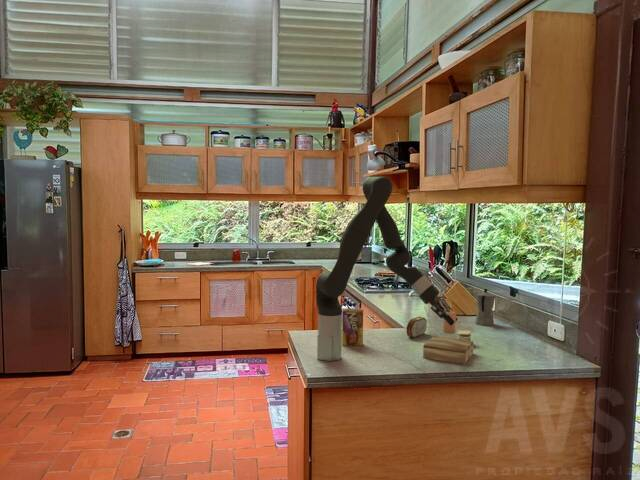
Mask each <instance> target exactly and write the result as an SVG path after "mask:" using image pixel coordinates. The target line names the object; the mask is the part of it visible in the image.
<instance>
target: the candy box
mask: <svg viewBox="0 0 640 480" xmlns="http://www.w3.org/2000/svg"><path fill="white" fill-rule="evenodd" d="M342 346H364V310H363V308H353V307H350V308H345V307H344V308H343V307H342Z"/></svg>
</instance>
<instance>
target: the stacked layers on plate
mask: <svg viewBox="0 0 640 480" xmlns="http://www.w3.org/2000/svg"><path fill="white" fill-rule="evenodd" d="M456 332H457V333H456V335H457V338H456V339H461V340H469V341H472V339H471V337H472V334H471V333H472V331H471V330H457V331H456Z"/></svg>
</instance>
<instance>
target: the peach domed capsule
mask: <svg viewBox="0 0 640 480" xmlns="http://www.w3.org/2000/svg"><path fill="white" fill-rule="evenodd" d="M446 312H447V313H448V315H449V316H450V317H451V318H452V319H453V320H454V321H455V323H454V324H453V325H449V323H448V322H447V321H446V320H445V319H443V327H442V328H443V329H442V330H443V332H442V333H444V334H447V335H448V334H449V335H450V334H451V335H453V334H456V324H457V323H456V322H457V321H456V318H457V313H456V312H455V311H452V310H451V311H446Z"/></svg>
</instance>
